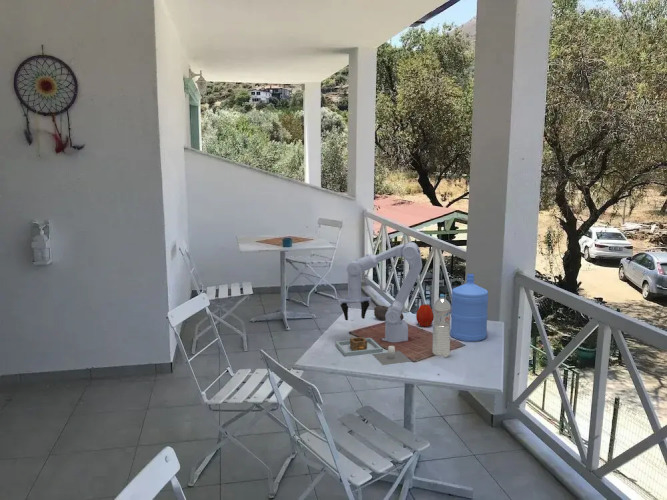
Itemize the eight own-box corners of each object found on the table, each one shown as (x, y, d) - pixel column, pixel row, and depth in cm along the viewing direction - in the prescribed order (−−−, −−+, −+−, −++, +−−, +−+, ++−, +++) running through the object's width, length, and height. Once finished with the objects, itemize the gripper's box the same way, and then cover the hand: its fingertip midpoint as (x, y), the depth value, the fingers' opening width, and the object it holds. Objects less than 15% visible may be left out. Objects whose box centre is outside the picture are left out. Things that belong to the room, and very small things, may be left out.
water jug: (485, 343, 229) (488, 279, 224) (448, 340, 234) (450, 277, 229) (487, 332, 243) (490, 272, 239) (452, 329, 248) (454, 270, 244)
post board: (399, 353, 219) (399, 340, 218) (411, 363, 207) (411, 350, 206) (371, 356, 215) (371, 343, 214) (382, 367, 204) (382, 353, 203)
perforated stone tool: (405, 321, 262) (405, 307, 261) (401, 324, 258) (401, 310, 257) (377, 317, 270) (377, 303, 269) (373, 319, 265) (373, 306, 264)
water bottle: (439, 359, 211) (440, 297, 207) (428, 354, 217) (429, 294, 213) (453, 356, 214) (454, 295, 210) (442, 351, 220) (443, 291, 216)
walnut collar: (362, 346, 225) (362, 336, 225) (368, 352, 218) (368, 342, 217) (350, 347, 224) (349, 338, 223) (355, 353, 217) (355, 344, 216)
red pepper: (423, 321, 261) (423, 300, 259) (437, 325, 255) (437, 303, 253) (412, 325, 255) (412, 303, 253) (426, 329, 249) (426, 306, 247)
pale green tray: (370, 343, 231) (370, 337, 230) (382, 354, 218) (382, 348, 217) (335, 347, 227) (335, 341, 226) (345, 358, 213) (344, 352, 213)
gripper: (341, 292, 227) (341, 323, 229) (373, 289, 231) (373, 319, 233) (336, 288, 233) (336, 318, 236) (367, 285, 237) (368, 315, 239)
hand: (354, 318), depth 235 cm, fingers open, 7 cm apart
